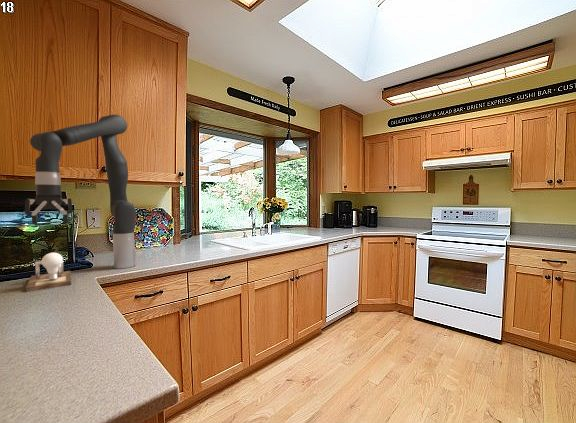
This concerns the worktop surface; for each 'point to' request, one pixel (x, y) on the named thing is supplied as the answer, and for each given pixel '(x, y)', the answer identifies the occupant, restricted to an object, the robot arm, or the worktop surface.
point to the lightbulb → (52, 264)
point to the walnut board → (33, 280)
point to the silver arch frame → (39, 269)
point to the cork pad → (50, 281)
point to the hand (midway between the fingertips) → (50, 224)
